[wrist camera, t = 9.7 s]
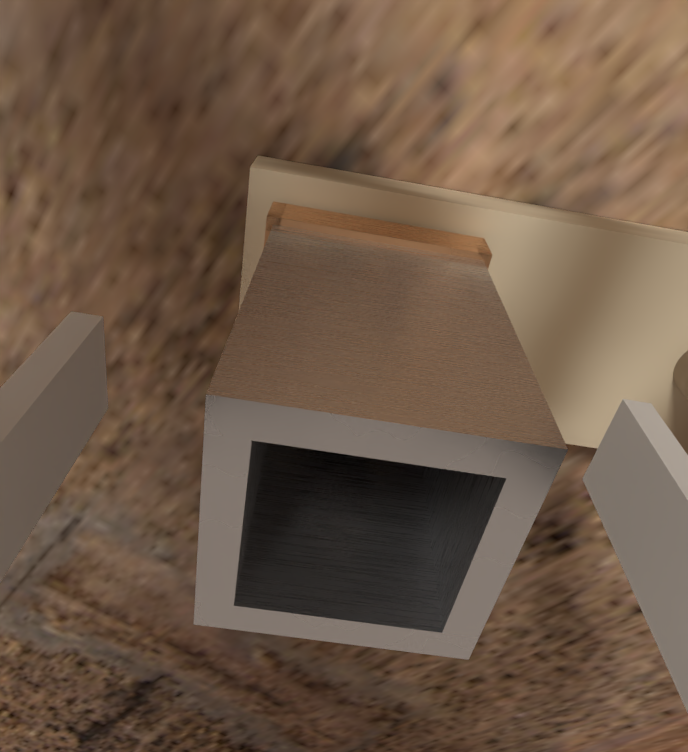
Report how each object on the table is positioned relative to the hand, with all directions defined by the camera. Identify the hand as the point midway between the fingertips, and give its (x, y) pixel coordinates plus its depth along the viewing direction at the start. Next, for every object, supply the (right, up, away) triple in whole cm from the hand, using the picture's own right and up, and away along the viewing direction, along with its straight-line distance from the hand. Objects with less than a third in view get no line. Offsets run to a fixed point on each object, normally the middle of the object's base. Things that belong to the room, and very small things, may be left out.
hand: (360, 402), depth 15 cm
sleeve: (0, +3, +4) cm, 5 cm away
